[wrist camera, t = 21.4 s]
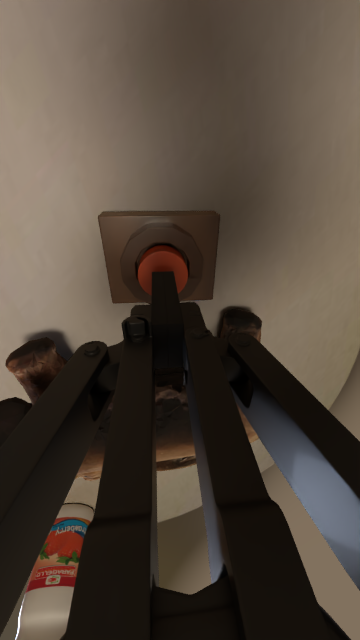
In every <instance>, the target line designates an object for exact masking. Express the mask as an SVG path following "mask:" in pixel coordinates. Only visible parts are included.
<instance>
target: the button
mask: <svg viewBox="0 0 360 640" xmlns="http://www.w3.org/2000/svg"><path fill="white" fill-rule="evenodd" d="M164 271H174V276H175V281H176V286H177V291H178V293H179V292H181V291H182V290H183V288H184V287H185V285H186V283H187V280H188V270H187V266H186V263H185V260H184V258H183V256H182V255H181V253H180V252H179V251H177V250H176V249H175V248H173V247H170V246H166V245H158V246H154V247H152V248H150V249H148V250H147V251H146V252H145V253H144V254H143V256H142V257H141V259H140V262H139V268H138V280H139V283H140V285H141V287H142V288H143V290H144V291H145V292H146V293H148V294H149V295H152V272H164Z"/></svg>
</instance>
